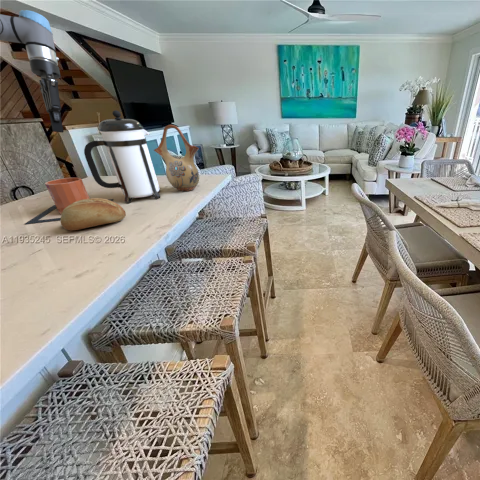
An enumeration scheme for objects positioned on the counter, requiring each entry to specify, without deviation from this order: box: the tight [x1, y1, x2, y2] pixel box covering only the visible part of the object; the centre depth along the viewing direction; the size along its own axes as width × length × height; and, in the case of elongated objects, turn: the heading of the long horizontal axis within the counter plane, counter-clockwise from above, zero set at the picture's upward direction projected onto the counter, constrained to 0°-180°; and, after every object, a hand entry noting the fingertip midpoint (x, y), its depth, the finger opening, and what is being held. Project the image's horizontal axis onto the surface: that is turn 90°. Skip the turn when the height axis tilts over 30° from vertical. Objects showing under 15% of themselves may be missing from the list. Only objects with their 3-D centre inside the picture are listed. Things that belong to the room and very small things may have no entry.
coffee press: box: [83, 109, 161, 204], centre depth 94 cm, size 17×16×30 cm
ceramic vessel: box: [153, 124, 200, 192], centre depth 104 cm, size 16×9×25 cm, turn 99°
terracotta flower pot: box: [44, 177, 90, 215], centre depth 87 cm, size 9×9×10 cm
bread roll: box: [59, 197, 127, 231], centre depth 76 cm, size 10×15×8 cm, turn 125°
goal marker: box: [24, 198, 114, 225], centre depth 89 cm, size 18×18×1 cm
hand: (58, 131), depth 99 cm, fingers closed
